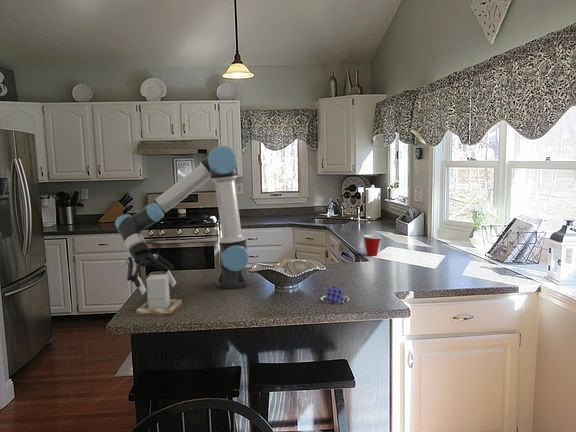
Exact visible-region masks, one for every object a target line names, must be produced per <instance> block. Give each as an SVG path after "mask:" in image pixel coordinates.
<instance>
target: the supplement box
mask: <svg viewBox="0 0 576 432" xmlns="http://www.w3.org/2000/svg"><path fill="white" fill-rule="evenodd" d="M145 280H146V292H147V301H148V309H167V308H168V307H169V305H170V300H171V297H170V296H171V295H170V282H169V277H168V274H166V273H165V274H150V275H149V276H148V277H147V278H146V279H145Z"/></svg>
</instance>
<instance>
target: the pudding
mask: <svg viewBox="0 0 576 432" xmlns="http://www.w3.org/2000/svg"><path fill="white" fill-rule="evenodd" d="M324 297H326V301H327V302H325V301H323V298H324ZM344 297H347V298H348V300H347V301H346V302H349V301H350V298H349V297H348V296H346V295H344V292H343V288H341V287H339V286H330V287H328V288H327V290H326V295H323V296H322V297H320V300H321V301H322V302H324V303H329V302H330V303H331V302H339V303H340V301H343V302H342V303H341V304H343V303H344V301H345V298H344ZM328 301H329V302H328ZM346 302H345V303H346ZM330 303H329V304H330Z"/></svg>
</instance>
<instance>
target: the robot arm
mask: <svg viewBox="0 0 576 432" xmlns="http://www.w3.org/2000/svg"><path fill="white" fill-rule="evenodd" d="M237 164H238V158H237V154H236V153H235V150H234V149H232V148H231V147H229V146H227V145H219V146H215V147H213V148H212V149H211V151H210V152H209V153H208V155H207V156H206V157H204V158H203V159H202V160H200V162H199V165H198V166H197V167H196V168H194V169H193V170H191V172H188V174H186V175H185V176H184V177H182V178H181V179H180V180H178V181H177V182H175V184H173V186H171V187H169V188H168V189H167V190H165V191H164V192H163V193H162V194H160V195H159V196H158V197H156V198H155V199H154V200H153V201H151V202H150V203H149V204H147V205H145V207H144V208H142V209H141V210H140V211H138V212H137V213H135V214H133V215H131V214H128V213H125V214H123V215H120V216H118V217H117V218H116V220H115V227H116V229H117V232H118V234H119V235H120V236H121V239H122V241H123V243H124V244H125V246H126V248H127V250H128V251H129V254H130V256H128V258H127V260H126V263H127V272H126V274H127V275H126V276H127V277H126V279H127V281H128V282H129V281H131V282H132V283H134V285H135V287H136V288H138V289H139V291H140V293H141V295H142V296H143V295H145V293H146V292H147V287H146V286H145V285H144V282H143V281H142V279H141V277H140V276H138V275H139V273H140V270H141V267H143V268H145V267H149V266H151V267H155V268H157V269H158V270H161V271H162V272H164V273H165V274H168V277H169V284H170V286H171V287H172V288H174V287H175V286H176V284H177V281H176V279H175V274H174V273H173V270H174V269H175V266H174V265H173V264H172V263H171V262H170V261H168V260H167V259H166V258H164V257H163V256H162V255H161V254H160V252H159V251H156V252H155V253H154V254H153V253H152V252H151V249H150V247H149V245H148V244H147V242H146V240H145V238H144V236H143V234H142V233H141V232H143V231H144V230H146V229H147V228H149V227H150V226H153V225H154V224H155V223H157V222H160V220H161V219H163V218H164V217H165V214H166V213H168V212H169V211H170V210H171V209H172V208H174V207H175V206H176V205H178V204H179V203H181V201H183V200H184V199H186V198H187V197H188V196H189V195H191V194H192V193H193V192H194V191H196V190H197V189H198V188H200V187H202V185H204V184H205V183H206V182H208V181H209V180H211V181H212V182H213V183H214V185H215V194H216V200H217V207H218V214H219V221H220V223H219V224H220V230H221V237H220V238H219V241H218V242H219V263H220V266H219V267H220V270H219V273H218V277H217V280H216V281H217V282H216V283H217V285H216V287H219V288H220V289H228V290H231V289H234V290H235V289H241V288H246V287H248V286H249V285H250V278H249V275H248V272H247V269H246V267H247V265H248V263H249V260H250V254H249V251H248V247H247V238H246V236H245V235H243V234H242V228H241V227H242V226H241V219H240V209H239V203H238V194H237V186H236V185H237V184H236V179H238V177H239V175H238V165H237ZM134 263H135V264H137V265H136V269H135V271H134V273H133V265H134Z"/></svg>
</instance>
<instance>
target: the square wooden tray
mask: <svg viewBox="0 0 576 432" xmlns="http://www.w3.org/2000/svg"><path fill="white" fill-rule="evenodd" d="M182 301H183V299H170V305H169V307H168V308H167V309H148V300H147V301H146V302H145V303H143V304H142V305H140V306H139V307H138V308H136V310H135V311H136V312H135V316H172V315H173V314H174V313H175V312H176V311H178V310H179V308H181V307H182V306H183V305H184V303H183V302H182Z"/></svg>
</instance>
